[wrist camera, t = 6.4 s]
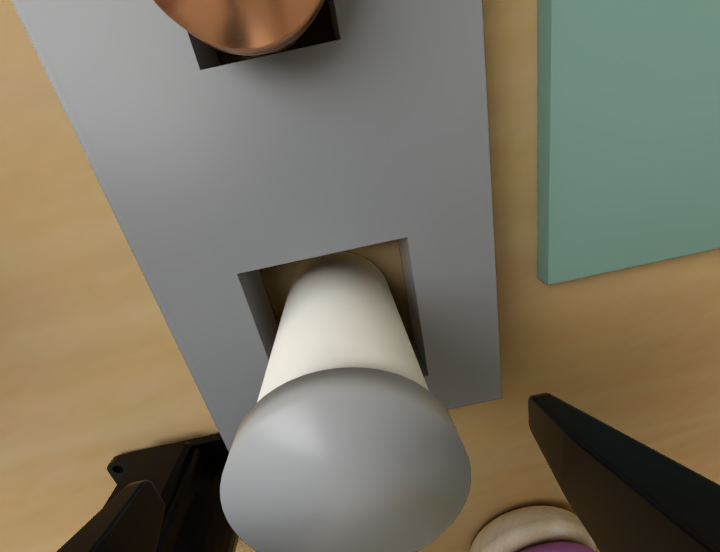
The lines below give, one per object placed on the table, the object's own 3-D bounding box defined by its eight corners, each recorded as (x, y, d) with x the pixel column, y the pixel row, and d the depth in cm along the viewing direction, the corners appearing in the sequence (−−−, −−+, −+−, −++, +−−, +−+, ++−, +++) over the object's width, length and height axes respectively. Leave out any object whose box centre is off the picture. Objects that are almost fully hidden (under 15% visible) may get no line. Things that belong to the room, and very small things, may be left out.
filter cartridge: (402, 335, 16) (478, 544, 8) (299, 357, 16) (265, 590, 8) (384, 234, 14) (460, 369, 6) (268, 260, 14) (177, 429, 6)
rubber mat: (796, 222, 15) (820, 226, 15) (537, 278, 15) (548, 285, 15) (903, -139, 11) (945, -159, 10) (537, -59, 11) (552, -73, 10)
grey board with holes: (478, 362, 17) (502, 398, 15) (244, 413, 17) (230, 456, 15) (432, -218, 9) (464, -335, 7) (12, -126, 10) (-91, -212, 7)
